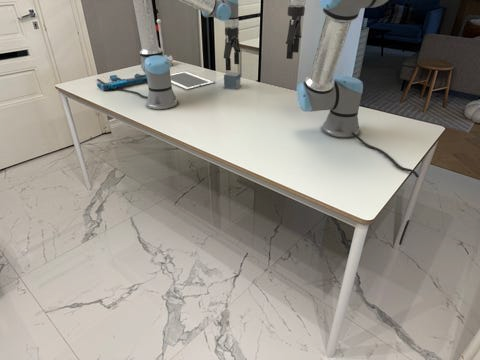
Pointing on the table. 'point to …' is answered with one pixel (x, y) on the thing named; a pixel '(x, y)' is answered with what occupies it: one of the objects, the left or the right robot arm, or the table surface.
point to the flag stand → (158, 27)
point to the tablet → (188, 80)
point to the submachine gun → (121, 82)
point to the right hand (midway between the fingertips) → (292, 55)
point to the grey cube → (232, 80)
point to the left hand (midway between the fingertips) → (232, 67)
